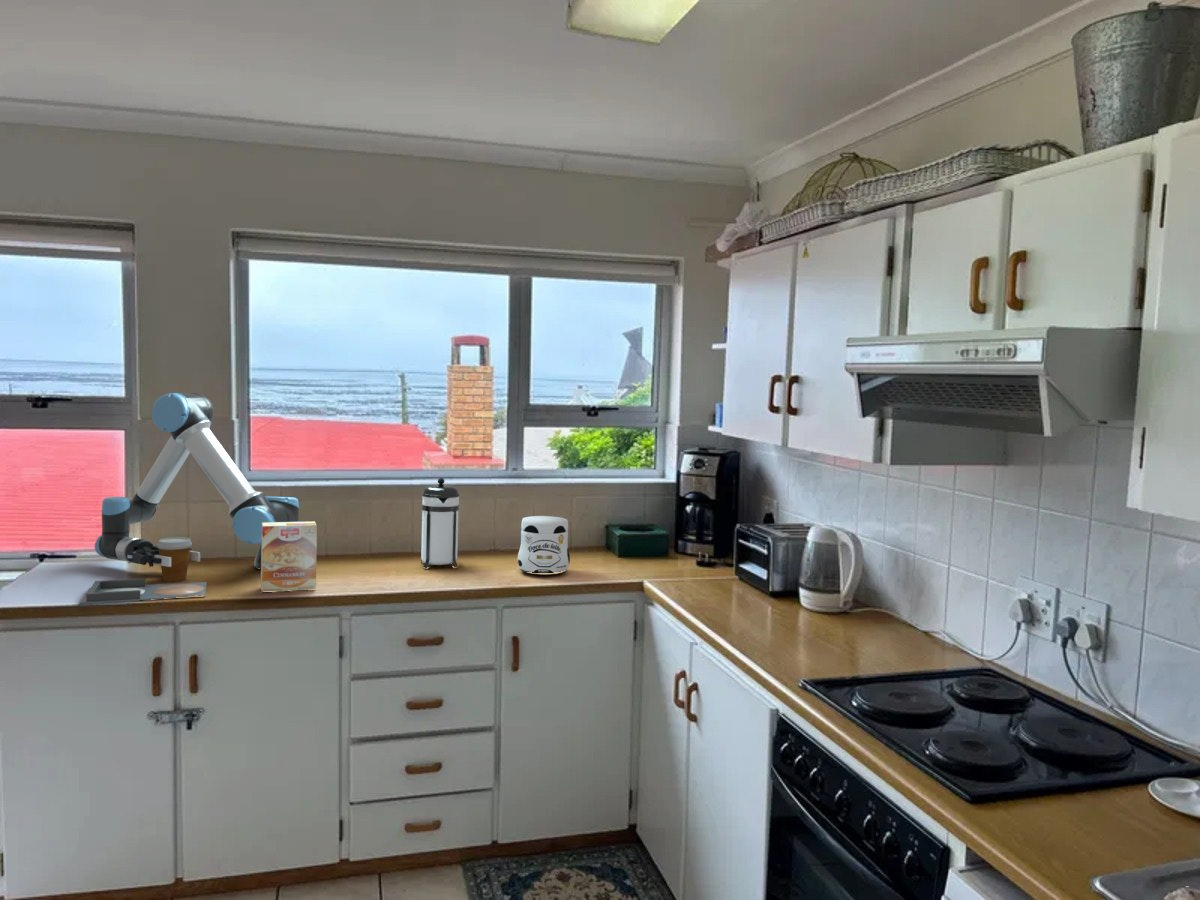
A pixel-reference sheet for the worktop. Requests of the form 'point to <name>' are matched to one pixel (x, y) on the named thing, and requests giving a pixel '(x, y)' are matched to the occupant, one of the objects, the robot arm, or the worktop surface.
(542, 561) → the doce de leite jar
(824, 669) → the worktop surface
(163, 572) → the disposable coffee cup
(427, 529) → the coffee press
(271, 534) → the coffeecake box
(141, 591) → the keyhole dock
